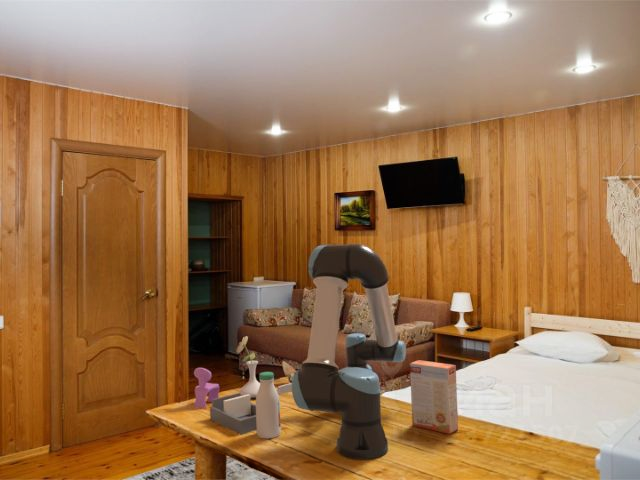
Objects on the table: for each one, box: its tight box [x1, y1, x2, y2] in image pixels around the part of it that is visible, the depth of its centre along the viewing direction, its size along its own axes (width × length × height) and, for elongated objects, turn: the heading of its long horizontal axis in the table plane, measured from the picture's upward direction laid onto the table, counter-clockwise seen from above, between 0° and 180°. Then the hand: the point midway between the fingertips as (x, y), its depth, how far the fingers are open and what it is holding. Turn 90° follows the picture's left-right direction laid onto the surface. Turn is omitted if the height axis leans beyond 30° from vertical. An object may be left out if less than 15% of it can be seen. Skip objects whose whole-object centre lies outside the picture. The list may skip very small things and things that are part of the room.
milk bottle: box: [255, 371, 282, 439], centre depth 173 cm, size 8×8×20 cm
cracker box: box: [409, 359, 459, 435], centre depth 174 cm, size 14×6×21 cm, turn 47°
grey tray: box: [209, 392, 257, 435], centre depth 186 cm, size 20×13×7 cm, turn 40°
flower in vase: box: [236, 335, 260, 399], centre depth 216 cm, size 13×11×25 cm
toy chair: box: [192, 367, 220, 410], centre depth 207 cm, size 8×9×15 cm
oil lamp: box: [281, 360, 297, 383], centre depth 227 cm, size 9×21×10 cm, turn 53°
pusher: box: [223, 394, 252, 418], centre depth 188 cm, size 2×10×7 cm, turn 130°
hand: (289, 394), depth 179 cm, fingers open, 13 cm apart
